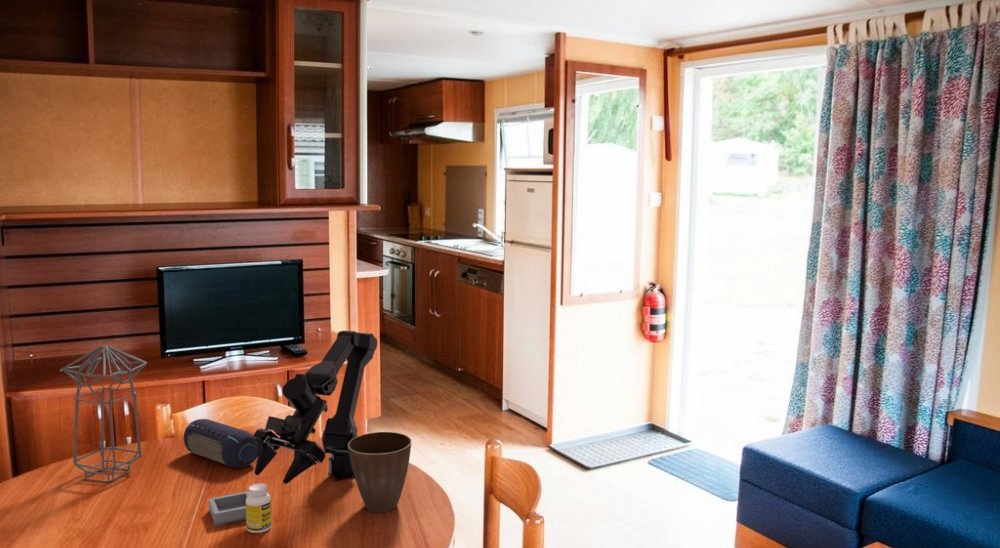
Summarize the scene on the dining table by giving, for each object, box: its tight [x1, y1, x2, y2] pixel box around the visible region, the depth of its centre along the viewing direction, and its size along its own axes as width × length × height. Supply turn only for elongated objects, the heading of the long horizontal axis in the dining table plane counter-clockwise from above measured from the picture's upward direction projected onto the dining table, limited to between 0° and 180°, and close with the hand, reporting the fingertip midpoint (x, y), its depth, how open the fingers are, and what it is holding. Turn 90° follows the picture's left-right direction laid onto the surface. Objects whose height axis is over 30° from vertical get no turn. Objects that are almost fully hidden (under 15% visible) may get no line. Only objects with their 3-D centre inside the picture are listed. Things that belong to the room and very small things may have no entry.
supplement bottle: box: [245, 483, 273, 534], centre depth 174 cm, size 5×5×10 cm
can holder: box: [208, 490, 249, 527], centre depth 181 cm, size 9×9×3 cm
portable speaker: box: [183, 418, 259, 469], centre depth 214 cm, size 25×10×10 cm, turn 55°
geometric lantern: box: [59, 344, 148, 483], centre depth 201 cm, size 16×16×35 cm
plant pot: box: [348, 431, 412, 514], centre depth 185 cm, size 15×15×16 cm
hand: (270, 478), depth 176 cm, fingers open, 9 cm apart
